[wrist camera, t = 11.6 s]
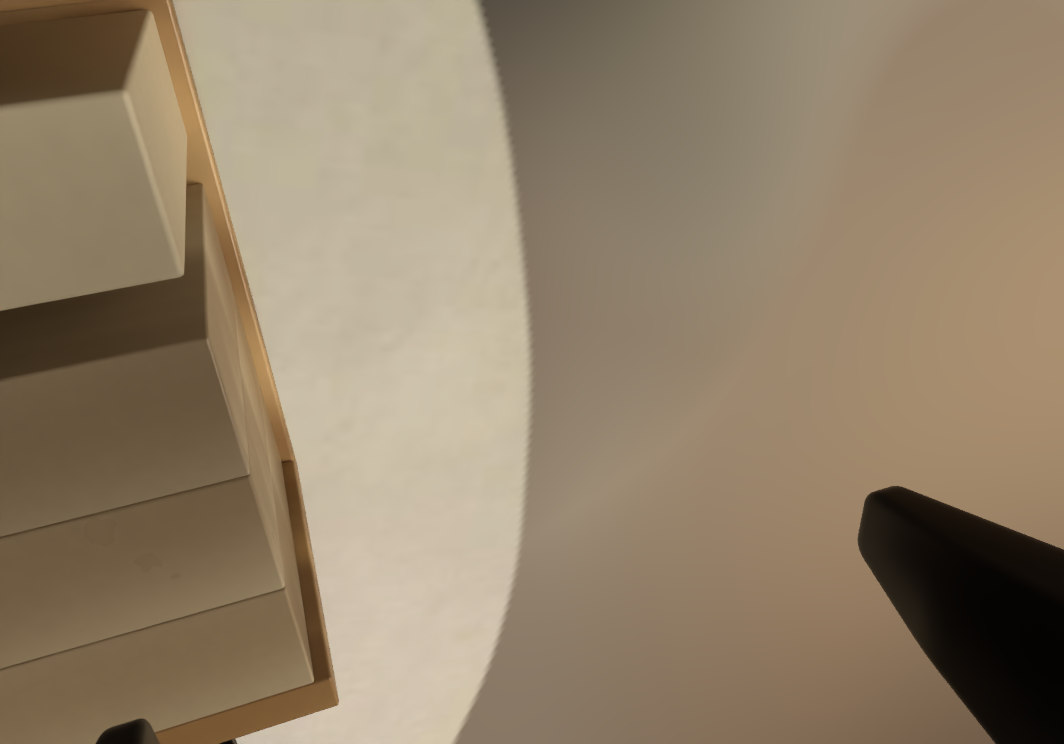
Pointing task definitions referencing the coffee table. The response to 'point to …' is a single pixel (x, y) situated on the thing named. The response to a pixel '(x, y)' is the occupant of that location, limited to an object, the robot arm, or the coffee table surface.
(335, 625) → the coffee table surface
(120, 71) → the cream book
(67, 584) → the brown rack
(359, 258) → the coffee table surface
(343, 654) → the coffee table surface
